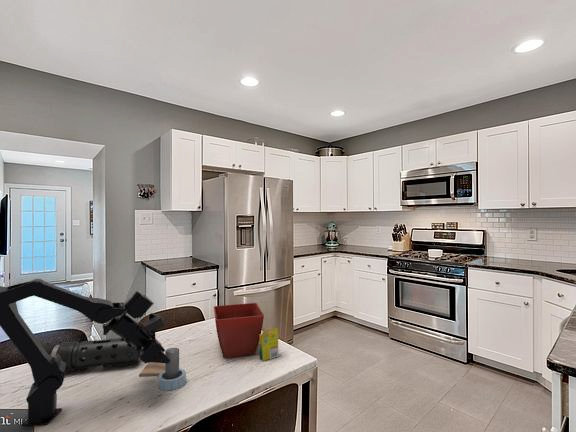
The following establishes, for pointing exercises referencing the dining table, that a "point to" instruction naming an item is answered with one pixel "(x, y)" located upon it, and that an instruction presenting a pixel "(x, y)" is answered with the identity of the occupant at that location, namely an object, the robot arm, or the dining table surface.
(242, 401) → the dining table surface
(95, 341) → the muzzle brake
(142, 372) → the mat
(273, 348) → the crayon box
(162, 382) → the collar
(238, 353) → the plant pot
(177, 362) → the plug
